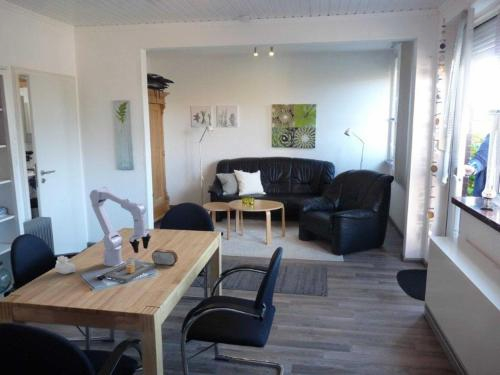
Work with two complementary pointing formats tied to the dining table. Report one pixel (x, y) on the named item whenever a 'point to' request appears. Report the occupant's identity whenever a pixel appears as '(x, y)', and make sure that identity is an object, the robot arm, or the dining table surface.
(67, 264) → the white irregular lump
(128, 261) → the pale fader
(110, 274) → the fader board
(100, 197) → the robot arm
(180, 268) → the dining table surface
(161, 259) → the tin
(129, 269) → the block
